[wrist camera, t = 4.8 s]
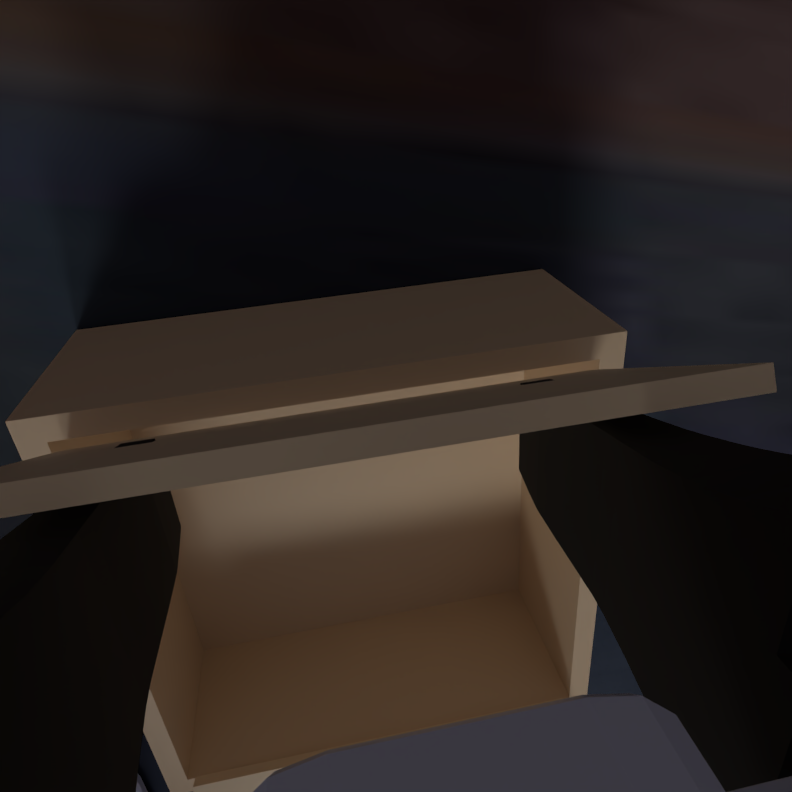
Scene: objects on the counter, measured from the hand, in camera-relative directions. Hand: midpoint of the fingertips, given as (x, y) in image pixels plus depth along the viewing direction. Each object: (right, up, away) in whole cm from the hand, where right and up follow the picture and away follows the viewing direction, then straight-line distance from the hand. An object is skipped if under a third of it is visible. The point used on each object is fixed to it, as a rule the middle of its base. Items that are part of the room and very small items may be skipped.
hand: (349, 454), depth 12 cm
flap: (0, 0, -2) cm, 2 cm away
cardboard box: (-1, -2, +9) cm, 9 cm away
